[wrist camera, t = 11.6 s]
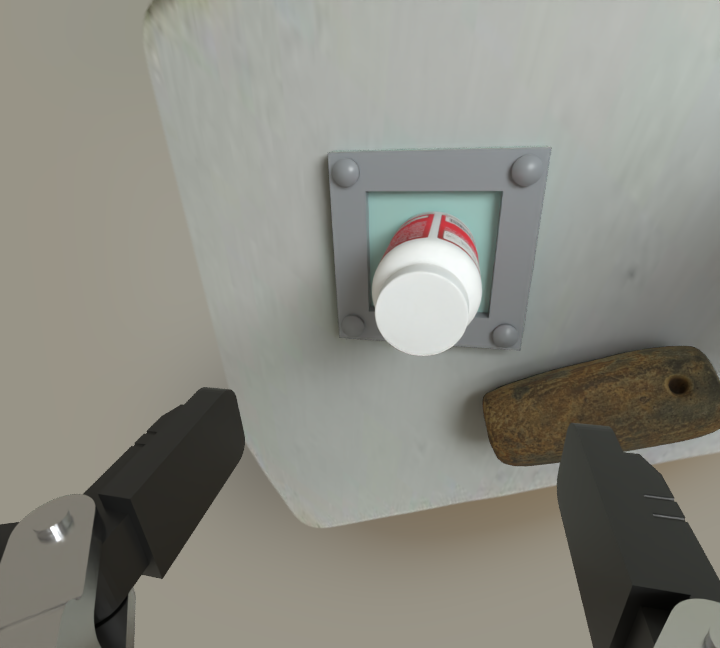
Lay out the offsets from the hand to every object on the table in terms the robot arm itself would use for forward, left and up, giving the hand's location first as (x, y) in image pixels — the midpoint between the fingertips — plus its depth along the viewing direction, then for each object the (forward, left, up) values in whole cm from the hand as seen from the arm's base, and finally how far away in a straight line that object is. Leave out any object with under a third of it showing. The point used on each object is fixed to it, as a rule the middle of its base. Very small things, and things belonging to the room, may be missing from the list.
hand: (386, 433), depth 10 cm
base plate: (0, +2, -23) cm, 23 cm away
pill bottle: (0, +2, -22) cm, 22 cm away
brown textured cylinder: (-12, +13, -23) cm, 29 cm away
